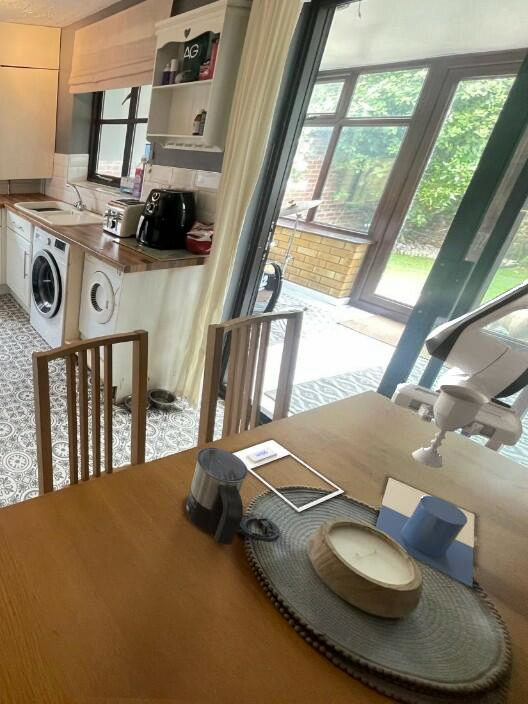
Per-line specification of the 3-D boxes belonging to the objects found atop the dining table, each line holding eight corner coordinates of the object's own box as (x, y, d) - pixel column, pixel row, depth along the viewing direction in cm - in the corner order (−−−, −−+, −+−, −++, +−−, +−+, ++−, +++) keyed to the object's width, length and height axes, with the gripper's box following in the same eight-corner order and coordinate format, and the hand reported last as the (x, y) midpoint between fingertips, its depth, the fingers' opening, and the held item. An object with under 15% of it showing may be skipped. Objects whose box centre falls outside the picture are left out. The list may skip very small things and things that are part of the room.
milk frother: (174, 502, 90) (187, 450, 83) (237, 490, 93) (254, 439, 86) (216, 563, 77) (234, 507, 71) (287, 547, 80) (311, 493, 74)
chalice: (441, 454, 94) (479, 389, 86) (455, 475, 88) (496, 407, 81) (401, 445, 97) (434, 381, 89) (412, 464, 91) (448, 398, 83)
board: (387, 480, 96) (389, 477, 95) (472, 517, 86) (474, 514, 86) (371, 539, 82) (373, 536, 81) (470, 591, 73) (472, 587, 72)
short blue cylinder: (424, 527, 83) (444, 496, 79) (454, 557, 77) (477, 525, 73) (392, 527, 83) (411, 495, 79) (420, 557, 77) (441, 524, 74)
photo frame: (272, 439, 106) (344, 490, 91) (271, 442, 107) (342, 494, 92) (230, 453, 101) (299, 511, 86) (229, 457, 102) (297, 514, 87)
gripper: (404, 371, 102) (390, 391, 94) (529, 411, 87) (524, 439, 79) (394, 392, 104) (380, 414, 96) (514, 435, 90) (507, 464, 82)
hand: (446, 426), depth 88 cm, fingers closed on chalice, 5 cm apart
